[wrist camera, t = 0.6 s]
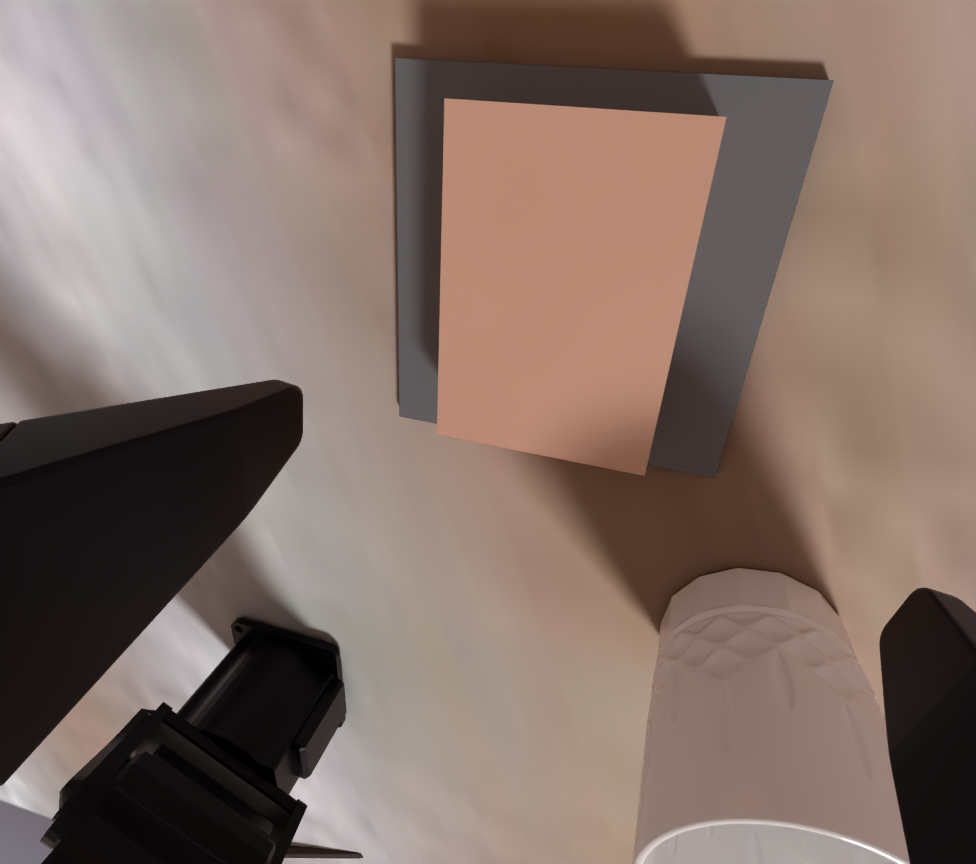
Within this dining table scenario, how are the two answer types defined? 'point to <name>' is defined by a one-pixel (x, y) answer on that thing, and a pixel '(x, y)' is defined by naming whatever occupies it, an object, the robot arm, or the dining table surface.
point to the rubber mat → (721, 246)
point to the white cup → (763, 734)
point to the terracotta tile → (566, 273)
